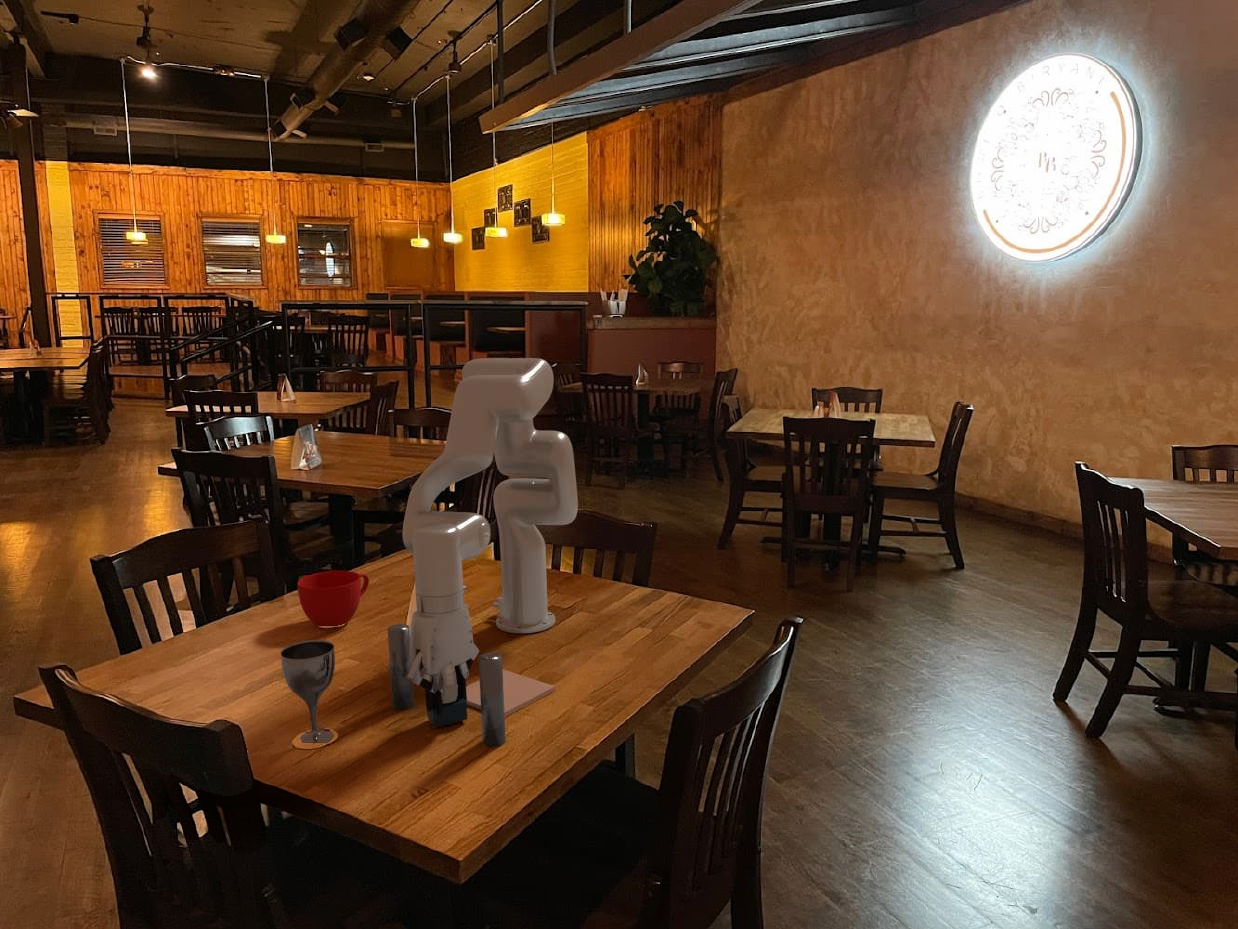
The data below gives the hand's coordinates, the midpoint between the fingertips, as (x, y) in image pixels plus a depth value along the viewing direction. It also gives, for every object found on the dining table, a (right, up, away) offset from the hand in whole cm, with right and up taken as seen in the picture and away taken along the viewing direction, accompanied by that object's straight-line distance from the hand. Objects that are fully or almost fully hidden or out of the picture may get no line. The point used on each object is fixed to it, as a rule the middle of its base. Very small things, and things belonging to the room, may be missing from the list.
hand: (446, 704), depth 146 cm
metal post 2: (+9, -4, -7) cm, 12 cm away
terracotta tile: (+8, -1, +10) cm, 13 cm away
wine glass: (-20, -4, -5) cm, 21 cm away
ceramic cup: (-33, +5, +49) cm, 59 cm away
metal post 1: (-9, -2, +7) cm, 11 cm away
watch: (0, -3, +1) cm, 3 cm away
